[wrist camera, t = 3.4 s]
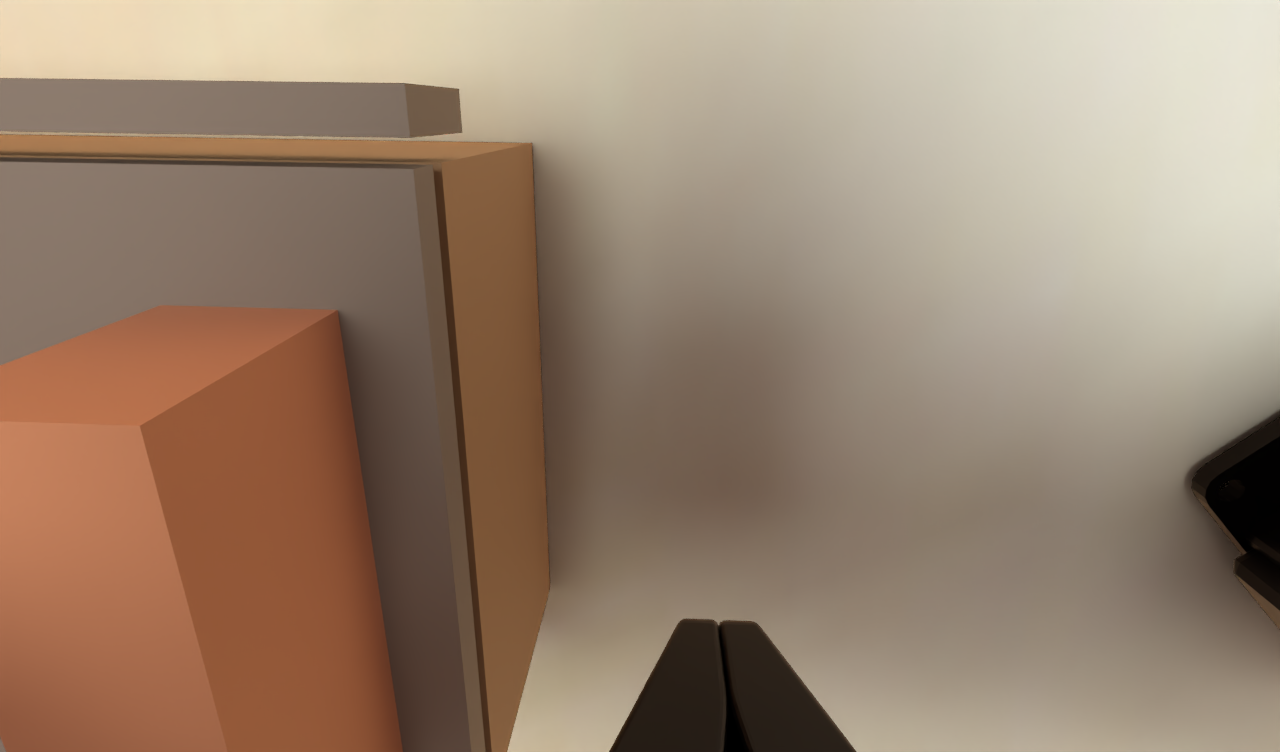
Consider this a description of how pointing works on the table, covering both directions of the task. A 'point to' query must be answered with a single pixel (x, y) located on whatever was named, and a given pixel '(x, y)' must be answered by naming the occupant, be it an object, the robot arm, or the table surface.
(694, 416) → the table surface
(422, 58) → the table surface
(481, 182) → the base
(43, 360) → the lid
